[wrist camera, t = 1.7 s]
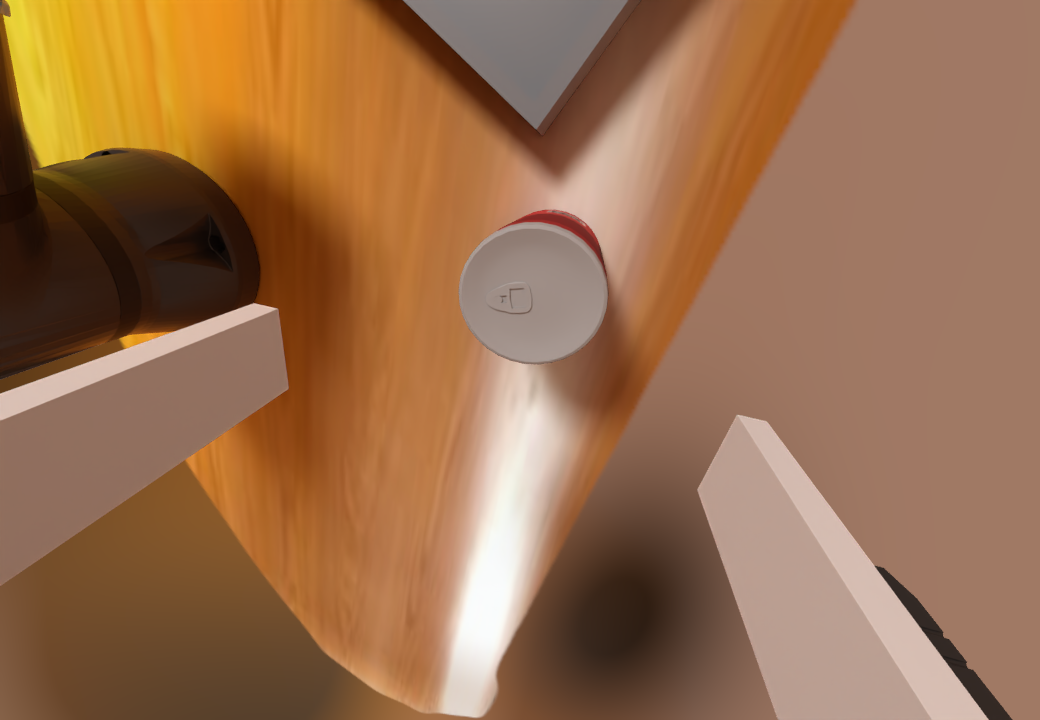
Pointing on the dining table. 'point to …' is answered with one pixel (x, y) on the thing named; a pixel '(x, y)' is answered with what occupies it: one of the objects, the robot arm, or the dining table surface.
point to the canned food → (535, 288)
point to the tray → (528, 45)
